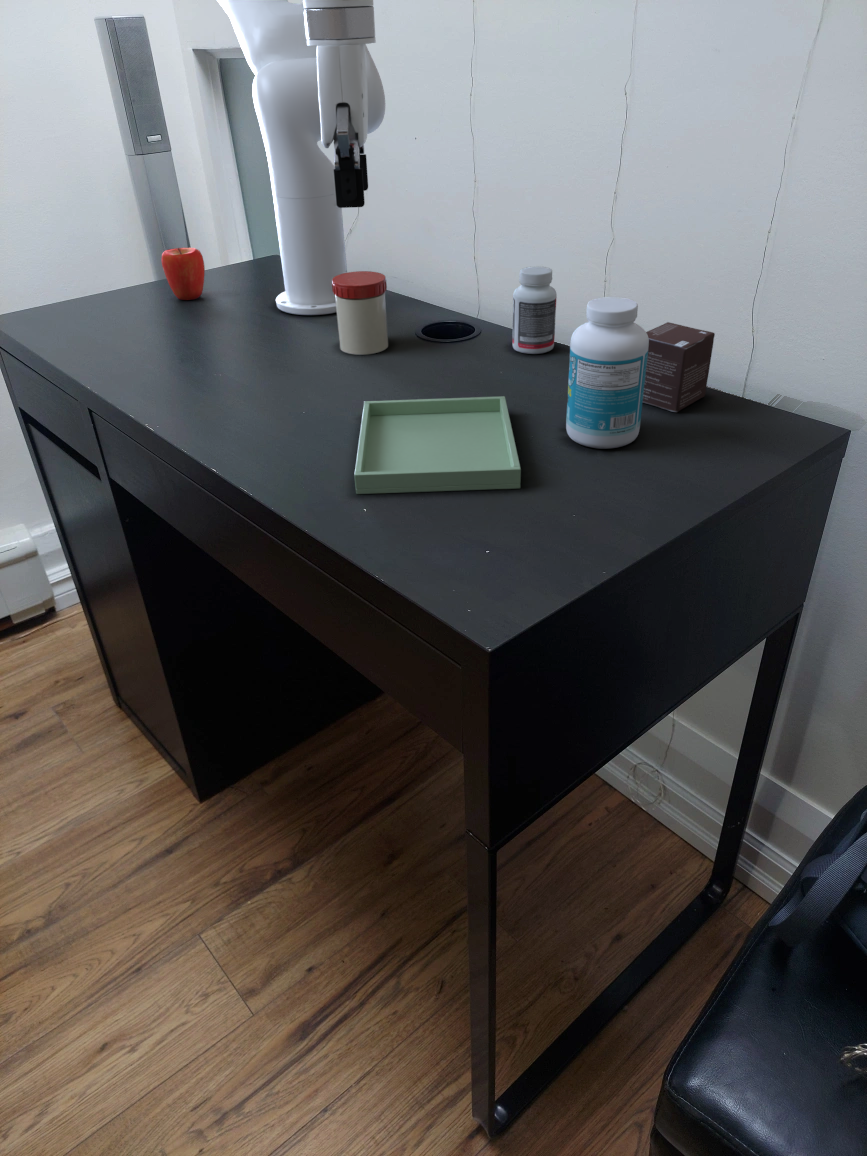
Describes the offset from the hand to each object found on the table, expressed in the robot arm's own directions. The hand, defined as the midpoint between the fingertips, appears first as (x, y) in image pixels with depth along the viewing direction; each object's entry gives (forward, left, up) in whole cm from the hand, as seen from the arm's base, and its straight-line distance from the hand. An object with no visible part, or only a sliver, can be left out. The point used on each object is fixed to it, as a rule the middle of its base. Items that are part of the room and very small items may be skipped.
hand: (353, 198), depth 101 cm
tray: (+32, +9, -18) cm, 38 cm away
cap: (0, 0, -10) cm, 10 cm away
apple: (-26, -29, -18) cm, 43 cm away
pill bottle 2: (+30, +26, -18) cm, 44 cm away
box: (+21, +35, -18) cm, 45 cm away
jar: (0, 0, -18) cm, 18 cm away
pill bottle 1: (+3, +22, -18) cm, 29 cm away
